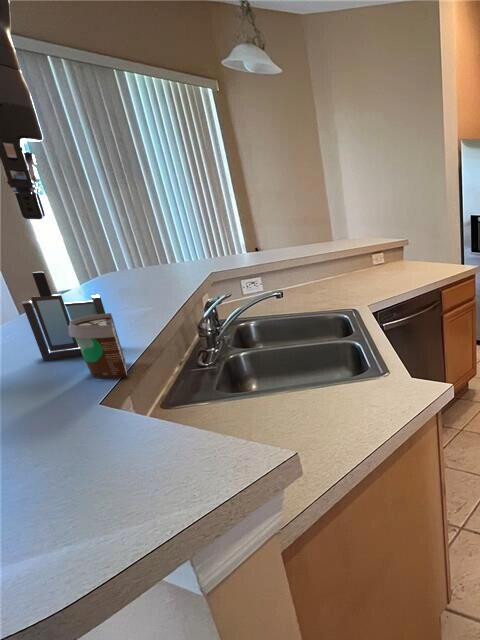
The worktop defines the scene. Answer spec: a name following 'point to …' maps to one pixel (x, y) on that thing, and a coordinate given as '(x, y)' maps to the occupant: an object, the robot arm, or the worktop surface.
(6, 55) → the robot arm
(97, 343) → the food container
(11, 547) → the worktop surface
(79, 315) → the window frame
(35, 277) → the sash
